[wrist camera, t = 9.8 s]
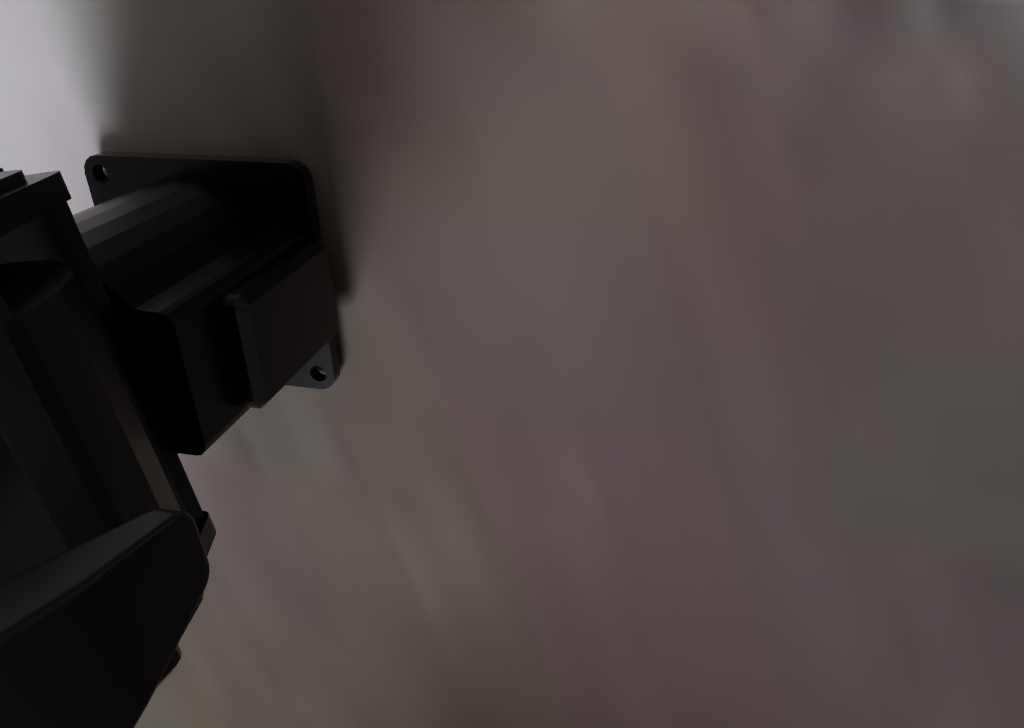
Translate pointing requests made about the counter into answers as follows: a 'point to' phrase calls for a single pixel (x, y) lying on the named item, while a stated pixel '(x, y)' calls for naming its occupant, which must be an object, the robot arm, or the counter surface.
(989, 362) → the counter surface
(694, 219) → the counter surface
